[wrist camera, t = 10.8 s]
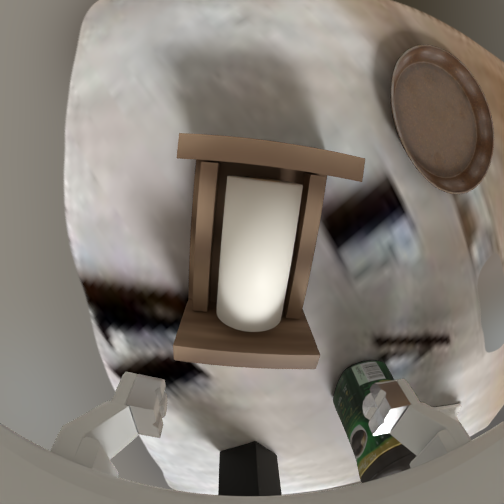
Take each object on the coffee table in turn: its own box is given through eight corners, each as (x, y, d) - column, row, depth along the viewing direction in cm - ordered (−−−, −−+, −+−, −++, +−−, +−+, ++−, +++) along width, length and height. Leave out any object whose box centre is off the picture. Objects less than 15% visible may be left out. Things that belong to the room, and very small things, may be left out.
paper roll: (268, 177, 25) (213, 173, 21) (318, 187, 21) (260, 182, 17) (253, 293, 29) (204, 306, 25) (294, 320, 25) (242, 340, 21)
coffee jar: (371, 398, 36) (412, 487, 19) (327, 404, 36) (357, 506, 18) (391, 354, 33) (452, 451, 16) (342, 359, 33) (392, 476, 15)
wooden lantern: (200, 138, 24) (180, 127, 15) (326, 154, 25) (365, 152, 16) (190, 309, 29) (174, 363, 21) (296, 318, 30) (314, 372, 22)
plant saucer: (466, 63, 20) (479, 60, 17) (484, 186, 26) (499, 189, 23) (361, 43, 21) (372, 33, 18) (389, 197, 26) (404, 201, 23)
